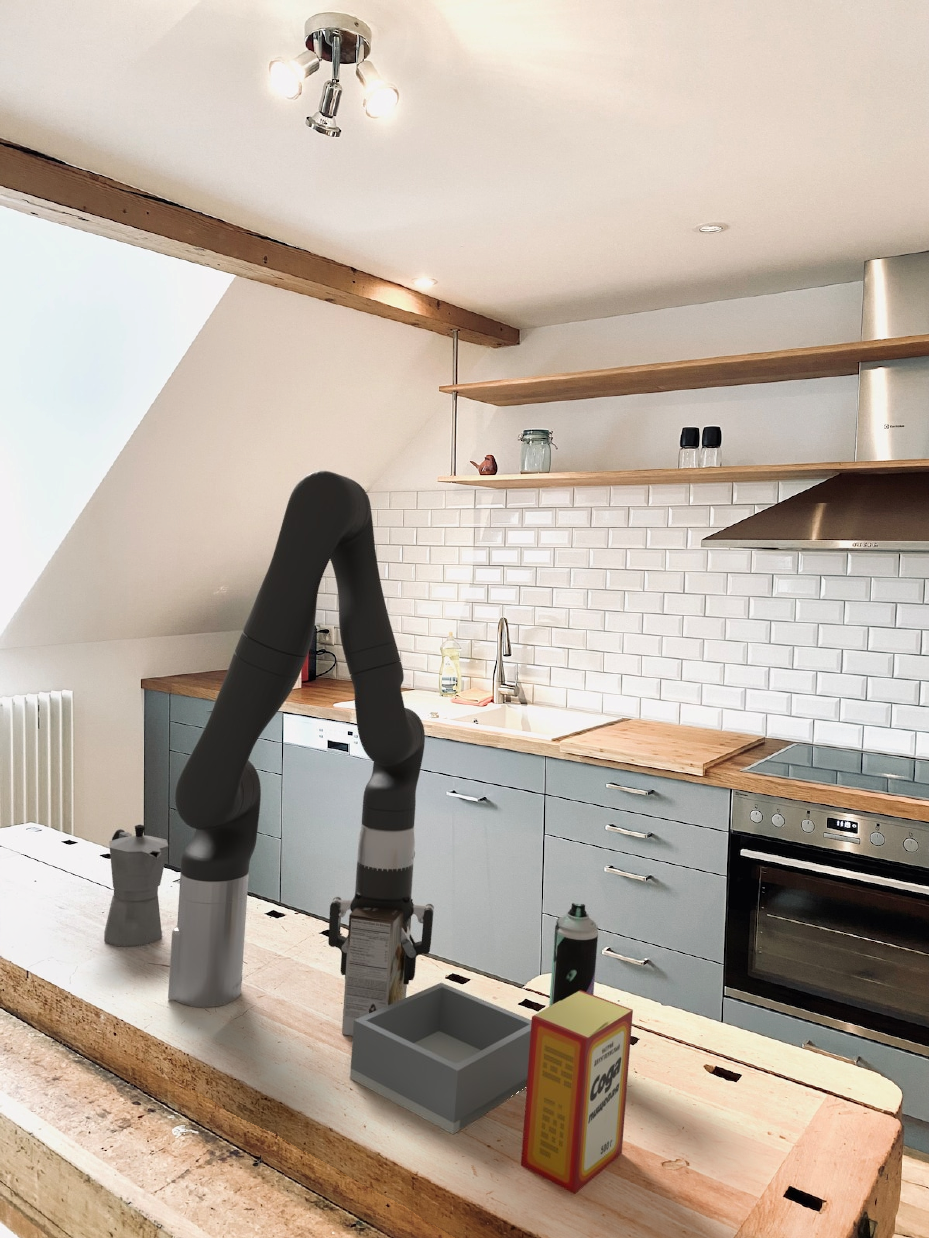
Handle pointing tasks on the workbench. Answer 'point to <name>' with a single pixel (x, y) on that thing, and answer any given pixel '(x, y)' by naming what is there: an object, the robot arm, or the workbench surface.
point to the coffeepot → (135, 888)
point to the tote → (442, 1055)
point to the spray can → (573, 954)
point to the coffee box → (373, 963)
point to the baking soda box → (576, 1089)
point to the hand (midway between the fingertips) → (377, 979)
